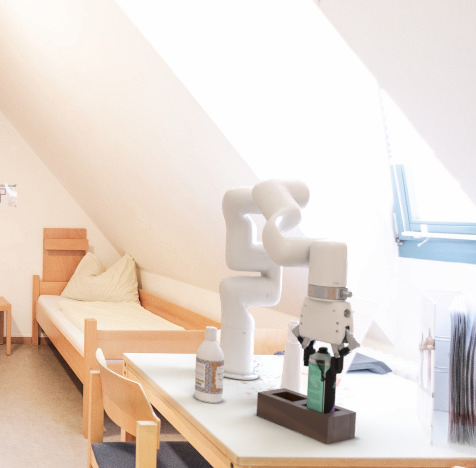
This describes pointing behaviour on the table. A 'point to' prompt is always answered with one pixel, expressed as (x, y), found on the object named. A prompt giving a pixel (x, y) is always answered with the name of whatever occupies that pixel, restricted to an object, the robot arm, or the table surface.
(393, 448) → the table surface
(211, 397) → the bath foam
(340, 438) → the rack
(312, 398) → the spray can
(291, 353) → the cosmetic bottle
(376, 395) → the table surface
